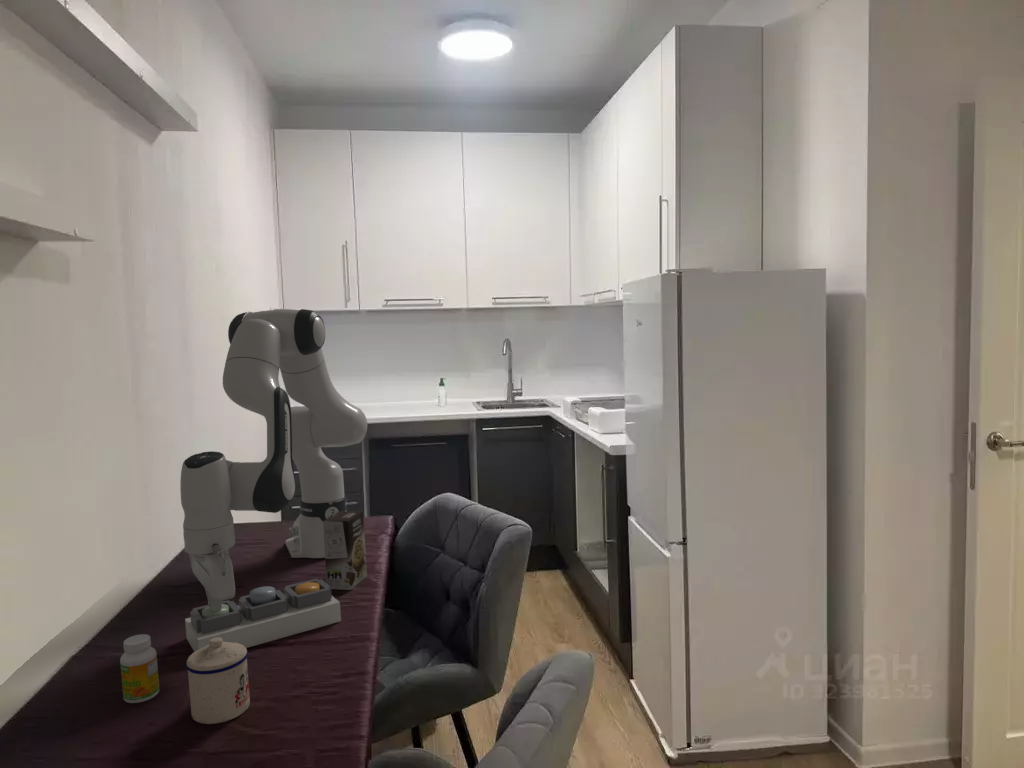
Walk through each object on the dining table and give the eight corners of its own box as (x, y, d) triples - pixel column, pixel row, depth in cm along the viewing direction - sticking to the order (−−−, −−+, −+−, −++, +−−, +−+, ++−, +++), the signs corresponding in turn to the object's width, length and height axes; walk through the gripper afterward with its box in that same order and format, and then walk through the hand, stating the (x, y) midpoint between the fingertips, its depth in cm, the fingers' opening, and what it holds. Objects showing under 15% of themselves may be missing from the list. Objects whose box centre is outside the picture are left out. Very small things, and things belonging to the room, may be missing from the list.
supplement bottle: (116, 703, 118) (110, 646, 117) (137, 686, 123) (132, 631, 122) (146, 704, 117) (141, 647, 116) (166, 687, 123) (161, 632, 122)
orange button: (292, 595, 150) (292, 586, 150) (315, 589, 153) (314, 580, 152) (300, 602, 146) (299, 592, 146) (323, 596, 149) (322, 587, 148)
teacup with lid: (250, 719, 112) (244, 646, 111) (186, 731, 109) (179, 656, 108) (254, 682, 123) (249, 616, 122) (196, 692, 121) (190, 625, 119)
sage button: (200, 618, 140) (199, 608, 139) (226, 611, 142) (225, 602, 142) (205, 626, 136) (204, 616, 135) (232, 619, 138) (231, 609, 138)
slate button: (247, 600, 145) (246, 590, 144) (271, 594, 147) (271, 584, 147) (254, 607, 141) (253, 597, 140) (278, 601, 143) (278, 591, 143)
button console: (186, 638, 142) (184, 606, 141) (320, 603, 157) (318, 574, 156) (199, 660, 132) (197, 627, 131) (341, 621, 147) (339, 590, 147)
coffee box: (352, 590, 164) (348, 521, 162) (326, 589, 165) (321, 520, 164) (368, 576, 173) (364, 510, 171) (343, 575, 174) (339, 509, 173)
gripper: (241, 548, 131) (246, 622, 132) (214, 524, 148) (219, 590, 149) (204, 555, 127) (210, 631, 128) (181, 530, 144) (186, 597, 145)
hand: (215, 609), depth 139 cm, fingers closed, pressing on sage button
